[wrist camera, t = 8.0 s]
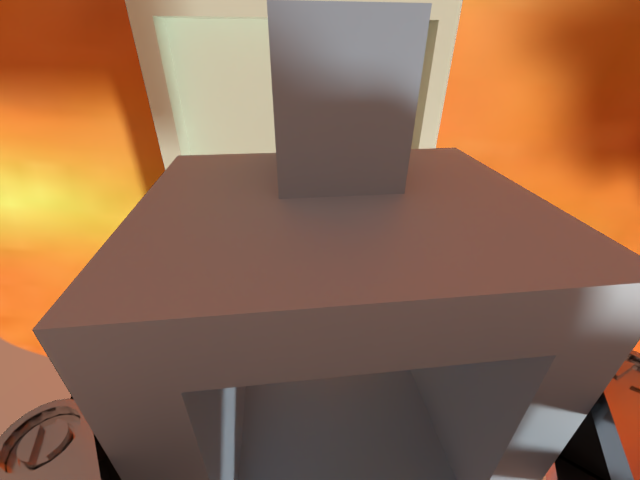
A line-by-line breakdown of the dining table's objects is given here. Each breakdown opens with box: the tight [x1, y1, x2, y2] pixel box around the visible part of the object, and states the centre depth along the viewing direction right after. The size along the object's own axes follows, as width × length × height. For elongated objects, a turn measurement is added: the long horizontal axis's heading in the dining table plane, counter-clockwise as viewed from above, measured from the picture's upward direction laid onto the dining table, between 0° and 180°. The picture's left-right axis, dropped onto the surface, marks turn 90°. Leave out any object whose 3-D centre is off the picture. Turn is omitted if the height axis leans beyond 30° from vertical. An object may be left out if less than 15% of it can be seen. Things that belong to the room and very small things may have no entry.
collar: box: [33, 0, 640, 480], centre depth 7 cm, size 10×7×6 cm
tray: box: [125, 0, 463, 170], centre depth 20 cm, size 15×16×2 cm
